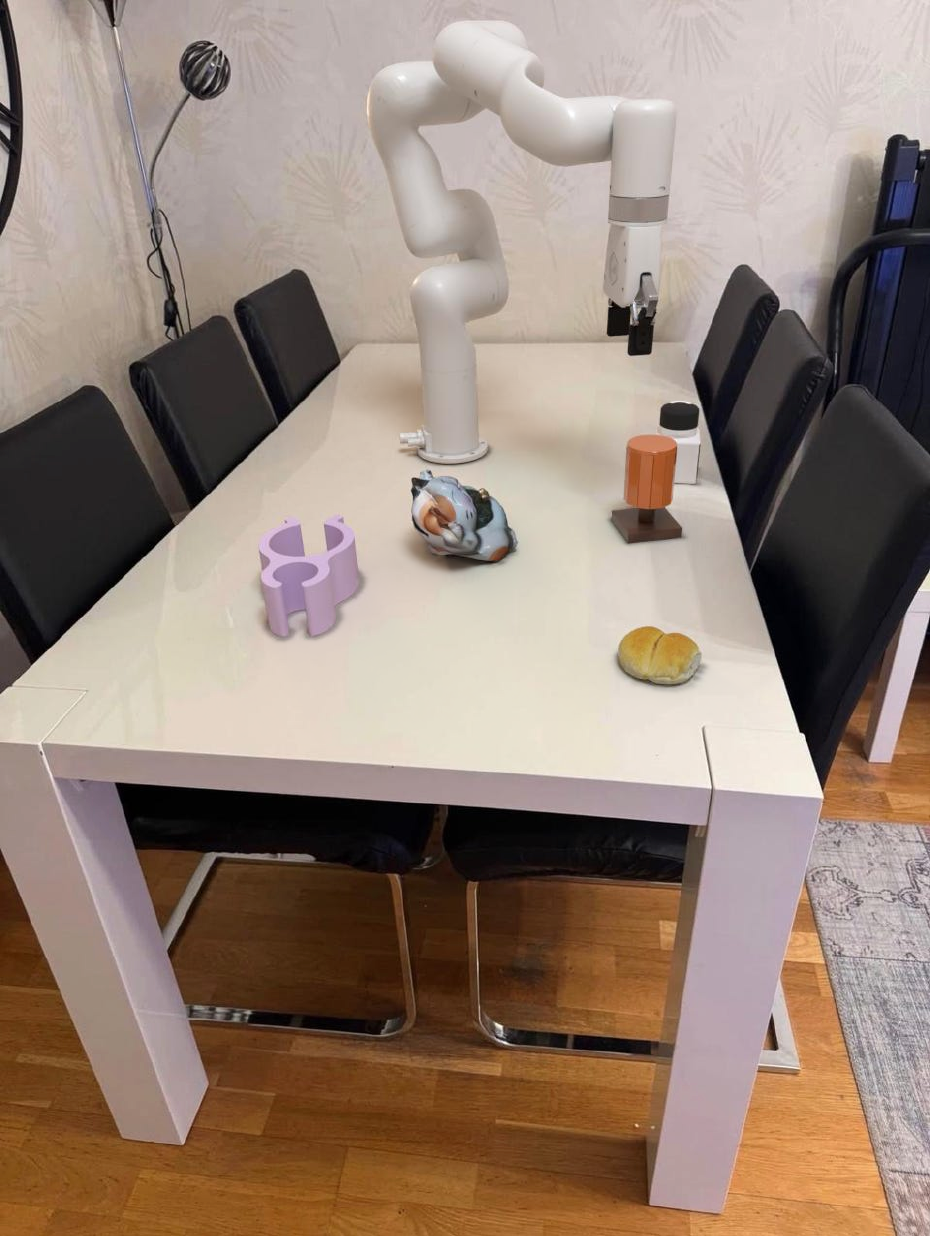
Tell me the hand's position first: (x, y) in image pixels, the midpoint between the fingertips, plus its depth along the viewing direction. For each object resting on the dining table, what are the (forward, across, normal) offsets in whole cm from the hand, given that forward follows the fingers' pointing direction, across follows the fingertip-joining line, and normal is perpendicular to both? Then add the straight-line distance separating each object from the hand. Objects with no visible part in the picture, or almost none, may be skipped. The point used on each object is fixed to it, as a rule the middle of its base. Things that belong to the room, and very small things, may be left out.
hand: (628, 344), depth 124 cm
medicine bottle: (+25, -11, +13) cm, 31 cm away
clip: (+26, +16, -47) cm, 56 cm away
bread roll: (+25, +41, -7) cm, 49 cm away
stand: (+25, +7, +2) cm, 26 cm away
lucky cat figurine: (+26, +8, -25) cm, 36 cm away
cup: (+20, +7, +2) cm, 22 cm away
